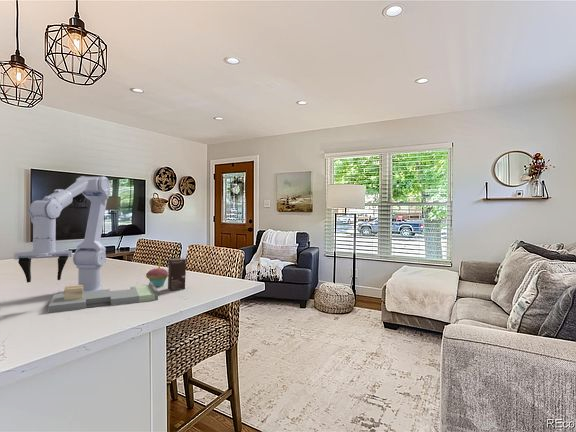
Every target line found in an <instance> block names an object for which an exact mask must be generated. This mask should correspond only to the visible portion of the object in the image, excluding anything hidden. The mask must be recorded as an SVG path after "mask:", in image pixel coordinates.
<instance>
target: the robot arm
mask: <svg viewBox="0 0 576 432" xmlns="http://www.w3.org/2000/svg"><path fill="white" fill-rule="evenodd" d="M111 187H112V186H111V183H110V180H109V179H108V177H106V176H103V175H102V176H85V175H81V176H79V177H77V178H76V179H75V182H74V183H72V184H71V185H69V186H68V187H67V188H65V189H63V188H58V189H57V188H56V189H54V190H53V193H51V194H49V195H45V196H44V197H43V199H42V200H34V201H32V203H31V202H30V204H29V207H28V208H27V212H28V215H29V216H30V222H31V224H32V251H24V252H15V253H13V254H14V257H13V260H14V261H17V260H18V261H17V262H18V264H19V266H20V268H21V269H22V271H23V273H24V275H25V280H26V283H31V282H32V272H31V268H32V267H31V265H32V259H47V258H48V259H50V258H51V259H52V258H57V281H60V280H61V279H62V273H63V270H64V268H65V266H66V263H67V261H68V260H69V258H72V262H73V264H74V266H76V268H77V270H78V271H77V273H78V275H77V277H78V278H77V281H78V282H77V283H78V284H77V285H83V292H84V291H95V290H103V289H102V284H101V269H102V268H103V265H105V263H106V260H107V253H106V250H107V248H106V247H105V246H104V244H102V243H101V237H102V231H103V225H104V219H105V215H106V208H107V203H108V199H109V198H110V191H111ZM80 194H82V195H83V196H84V197H85V198H86V199H87V200H89V201H90V207H89V211H88V217H87V223H86V230H85V234H84V239H83V241H82V242H80V244H78V245H77V246H76V249H75V252H74V253H73V250H56V248H57V245H56V243H57V242H56V239H57V238H56V229H57V228H56V227H57V224H56V221H57V220H56V219H57V218H59V217H60V215H61V212H62V211H63V209H65V208H67V207H68V206H69V205H71V204H72V203H73V202H74V201H73V198H75V197H77V196H79V195H80Z"/></svg>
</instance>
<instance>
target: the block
mask: <svg viewBox="0 0 576 432" xmlns="http://www.w3.org/2000/svg"><path fill="white" fill-rule="evenodd" d="M63 292H64V293H63V294H64V300H73V299H82V298H83V285H78V284H77V285H76V284H75V285H66V286H65V287H64V289H63Z"/></svg>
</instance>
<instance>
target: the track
mask: <svg viewBox="0 0 576 432" xmlns="http://www.w3.org/2000/svg"><path fill="white" fill-rule="evenodd" d="M148 283H149V284H148V285H137V286H130V289H120V290H119V289H118V290H110V288H108V289H102V290H95V291H84V292H83V298H82V299H73V300H64V293H56V294H54V295H53V296H52V299H51V300H50V302H49V304H48V308H47V309H48V313H57V312H65V311H74V310H82V309H89V308H91V309H92V308H100V307H106V306H115V305H116V306H117V305H123V304H132V303H141V302H142V303H144V302H149V301H158V300H159V290H158V289H157V288H158V287H155V286H154V284H153V283H152V282H150V281H149V282H148Z"/></svg>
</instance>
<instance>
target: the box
mask: <svg viewBox="0 0 576 432" xmlns="http://www.w3.org/2000/svg"><path fill="white" fill-rule="evenodd" d="M167 267H168V269H167V272H168V277H167V289H168V290H169V291H175V290H184V289H186V274H187V273H186V271H187V259H185V258H184V257H179V258H178V257H176V258H175V257H174V258H169V259H168V265H167Z"/></svg>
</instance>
